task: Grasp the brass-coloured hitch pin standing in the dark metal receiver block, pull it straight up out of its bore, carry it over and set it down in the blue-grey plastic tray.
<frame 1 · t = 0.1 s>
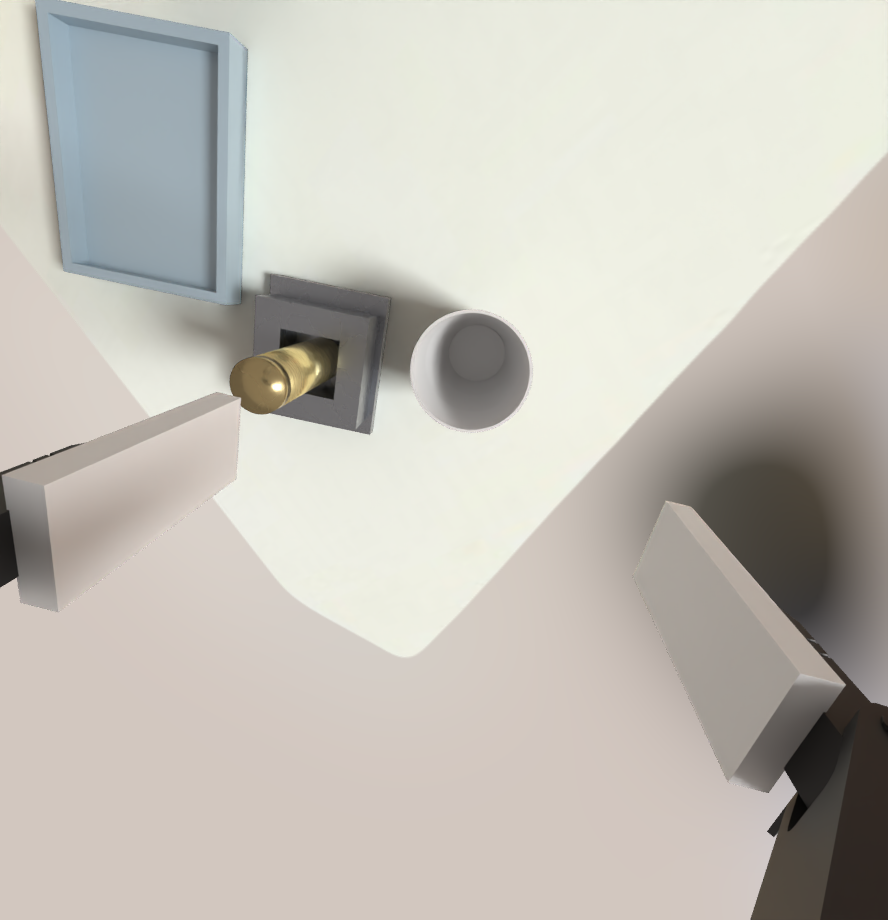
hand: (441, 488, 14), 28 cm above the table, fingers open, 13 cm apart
receiver block: (326, 356, 42), on the table
pin: (322, 358, 41), point 1 cm above the table, touching receiver block
tray: (160, 171, 38), on the table
cup: (476, 352, 40), on the table
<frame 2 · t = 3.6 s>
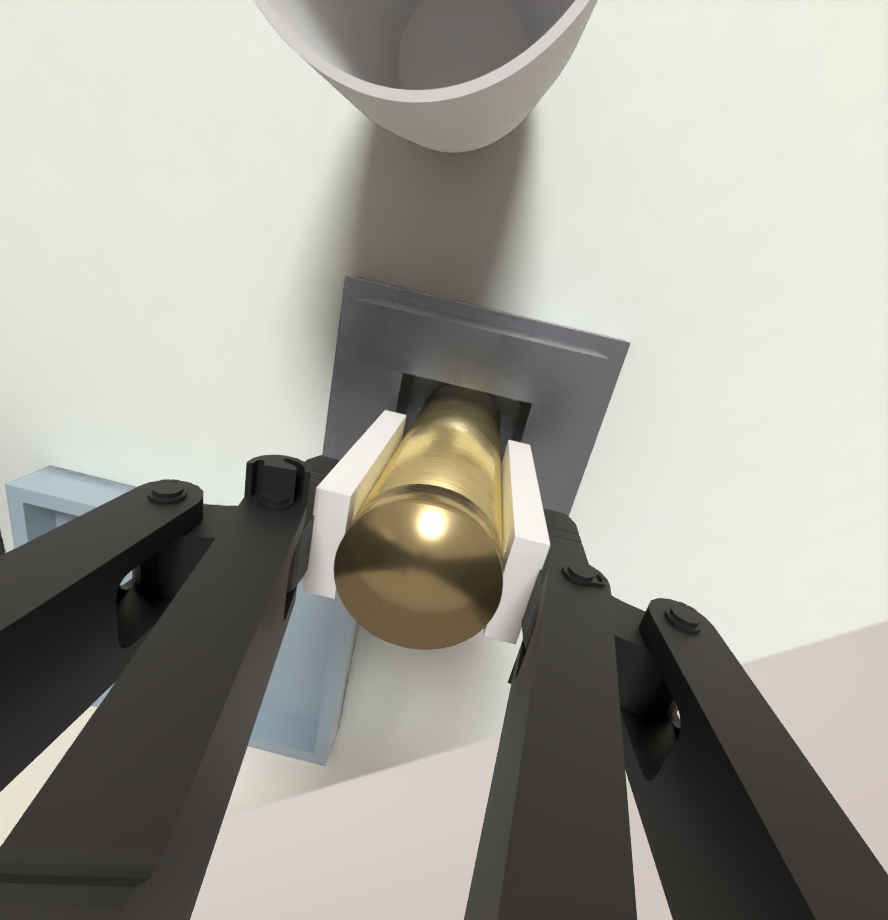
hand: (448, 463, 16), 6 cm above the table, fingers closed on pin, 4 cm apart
receiver block: (461, 417, 22), on the table
pin: (459, 423, 21), point 1 cm above the table, touching gripper, receiver block
tray: (206, 608, 28), on the table
cup: (461, 69, 17), on the table
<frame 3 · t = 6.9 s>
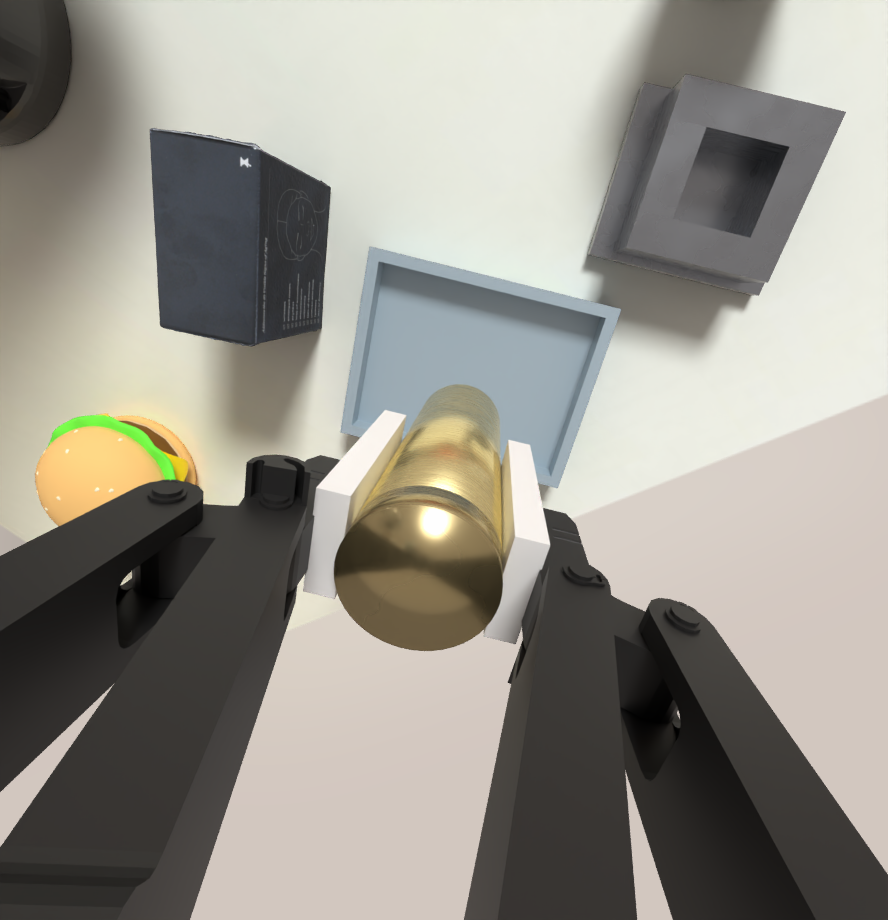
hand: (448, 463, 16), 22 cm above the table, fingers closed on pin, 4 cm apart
hamburger: (151, 464, 44), on the table
receiver block: (698, 197, 32), on the table
pin: (459, 424, 21), point 17 cm above the table, touching gripper
box: (286, 255, 36), on the table
tray: (471, 369, 37), on the table
when the fingers open (7 cm above the table, at t = 10.5 s): pin stays where it is, resting on tray.
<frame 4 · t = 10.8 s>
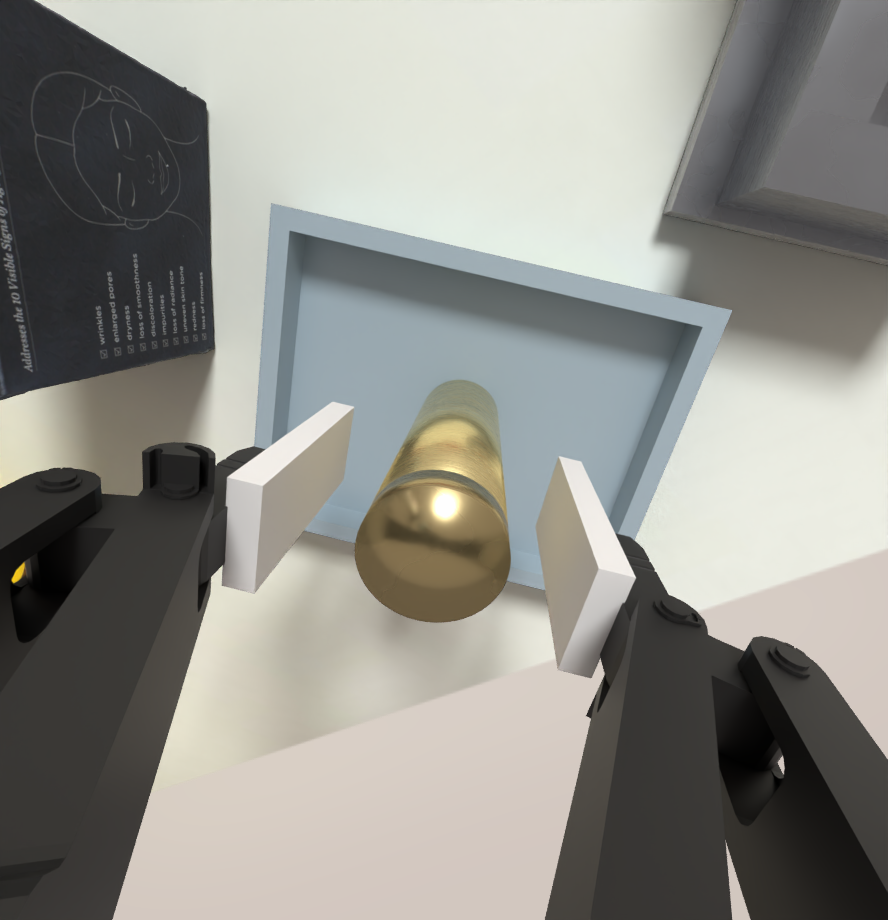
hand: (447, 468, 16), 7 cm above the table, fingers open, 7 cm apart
receiver block: (878, 99, 17), on the table
pin: (459, 417, 22), point 1 cm above the table, touching tray
box: (147, 227, 21), on the table
tray: (462, 413, 23), on the table
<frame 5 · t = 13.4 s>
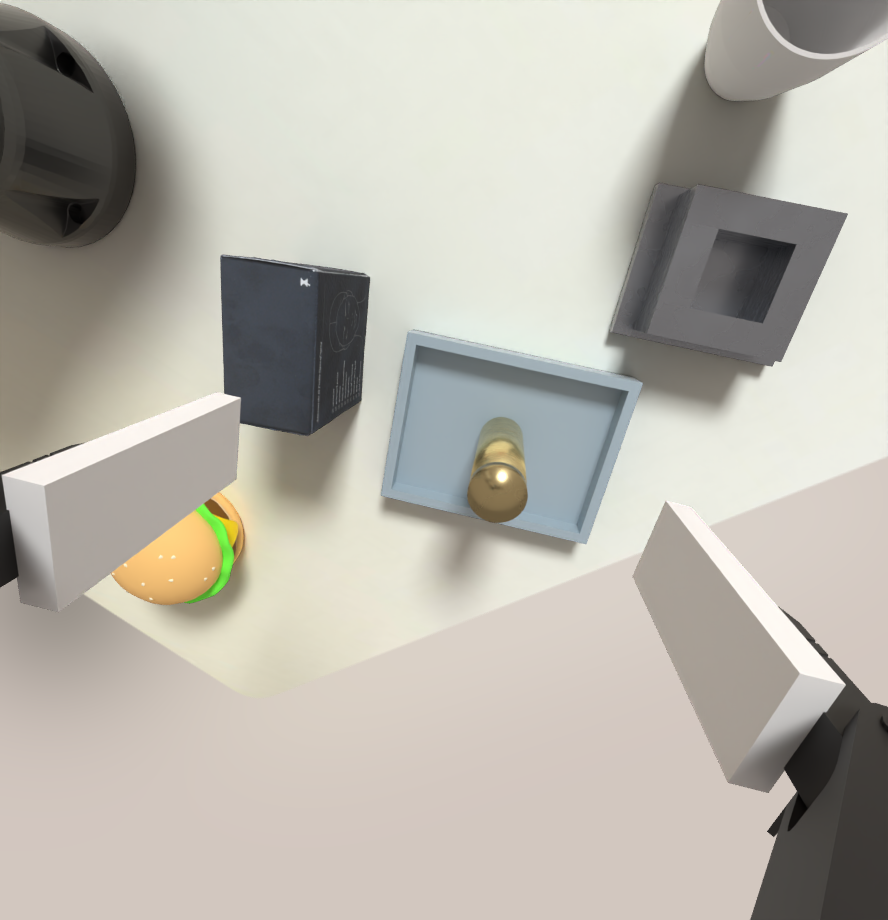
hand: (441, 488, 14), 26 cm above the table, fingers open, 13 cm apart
hamburger: (201, 523, 47), on the table
receiver block: (712, 279, 34), on the table
pin: (501, 437, 39), point 1 cm above the table, touching tray
box: (329, 335, 39), on the table
tray: (502, 435, 40), on the table
cup: (744, 55, 30), on the table
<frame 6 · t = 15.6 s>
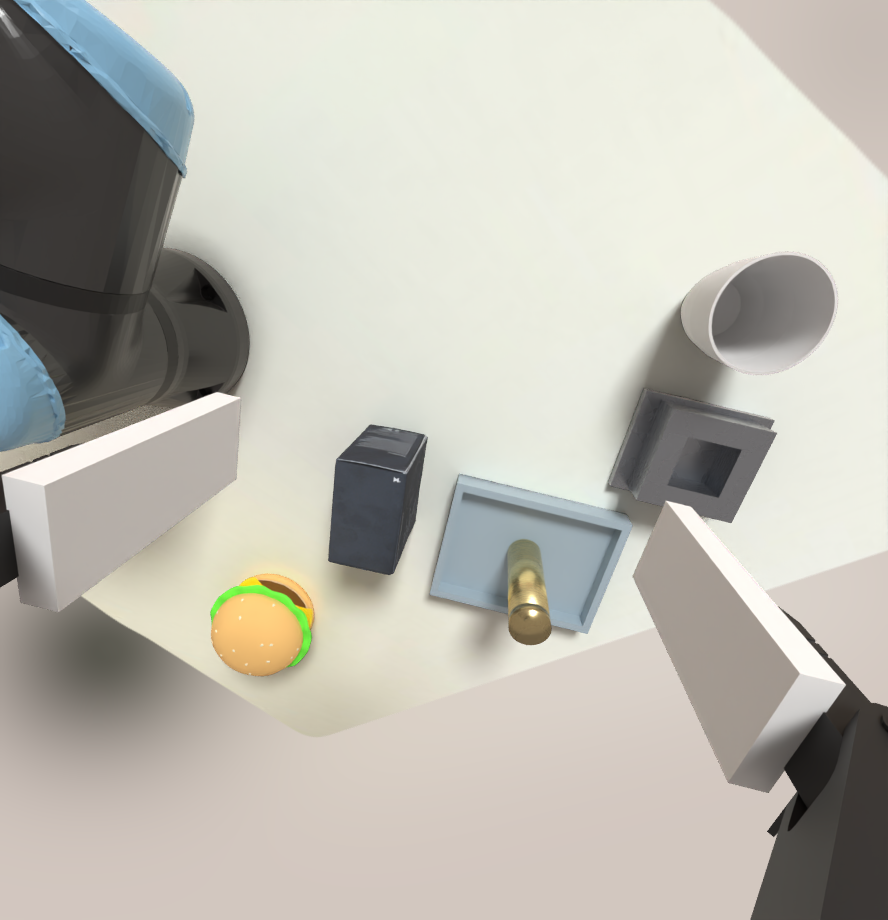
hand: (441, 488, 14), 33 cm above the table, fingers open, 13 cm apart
hamburger: (278, 603, 59), on the table
receiver block: (685, 451, 46), on the table
pin: (524, 553, 51), point 1 cm above the table, touching tray
box: (392, 473, 51), on the table
tray: (524, 549, 52), on the table
cup: (709, 308, 42), on the table
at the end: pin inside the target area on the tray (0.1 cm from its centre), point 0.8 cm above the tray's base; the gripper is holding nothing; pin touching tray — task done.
